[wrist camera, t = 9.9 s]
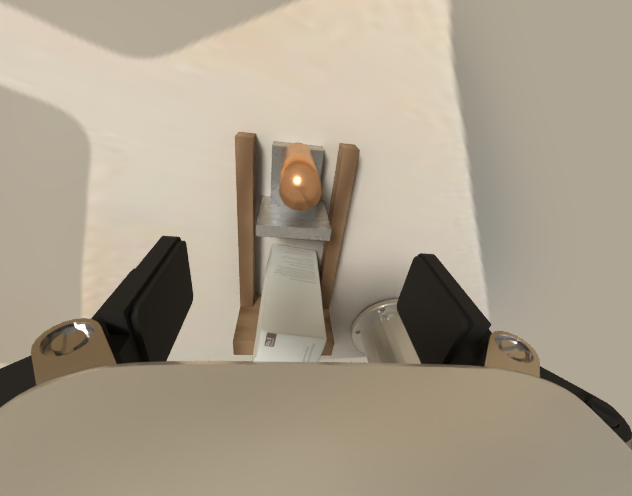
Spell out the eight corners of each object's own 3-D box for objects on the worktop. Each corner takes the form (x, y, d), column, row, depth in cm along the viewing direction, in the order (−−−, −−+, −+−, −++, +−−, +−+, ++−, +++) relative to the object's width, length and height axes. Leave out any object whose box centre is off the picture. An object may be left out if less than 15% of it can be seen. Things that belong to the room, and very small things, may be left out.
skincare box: (302, 295, 39) (308, 399, 27) (260, 290, 38) (245, 395, 26) (317, 247, 35) (332, 342, 23) (270, 239, 34) (258, 335, 21)
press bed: (354, 144, 29) (374, 166, 22) (324, 309, 41) (331, 355, 34) (238, 131, 27) (222, 150, 20) (243, 306, 39) (233, 354, 33)
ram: (332, 142, 28) (352, 175, 19) (322, 210, 32) (335, 264, 23) (263, 134, 27) (250, 165, 18) (262, 205, 31) (250, 260, 22)
